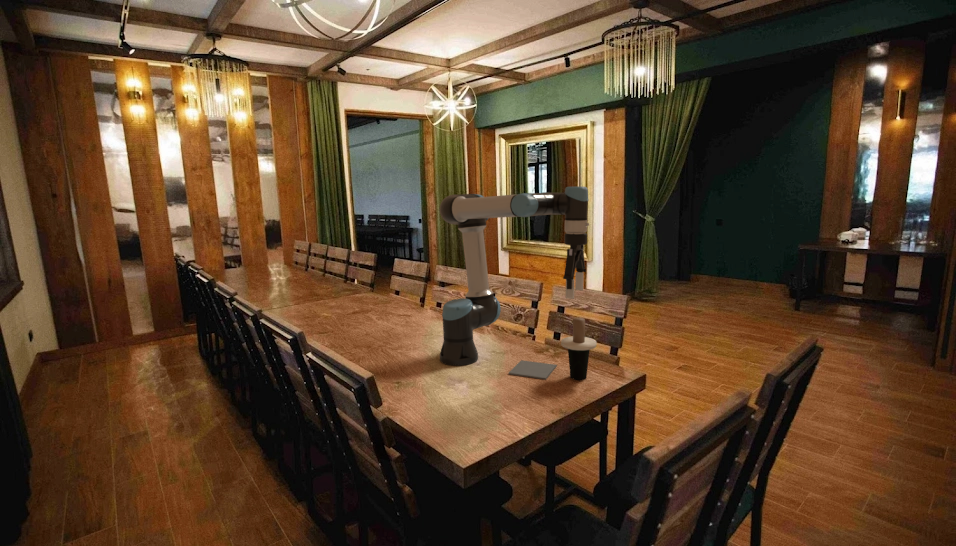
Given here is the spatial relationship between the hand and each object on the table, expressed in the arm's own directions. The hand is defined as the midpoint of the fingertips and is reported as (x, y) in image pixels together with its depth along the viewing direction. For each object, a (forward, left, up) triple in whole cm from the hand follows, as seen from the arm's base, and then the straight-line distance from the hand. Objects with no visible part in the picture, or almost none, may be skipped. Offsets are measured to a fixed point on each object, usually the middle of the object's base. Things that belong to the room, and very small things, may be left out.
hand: (574, 294), depth 166 cm
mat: (-15, 0, -30) cm, 33 cm away
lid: (+2, -1, -18) cm, 18 cm away
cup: (+2, -1, -30) cm, 30 cm away
